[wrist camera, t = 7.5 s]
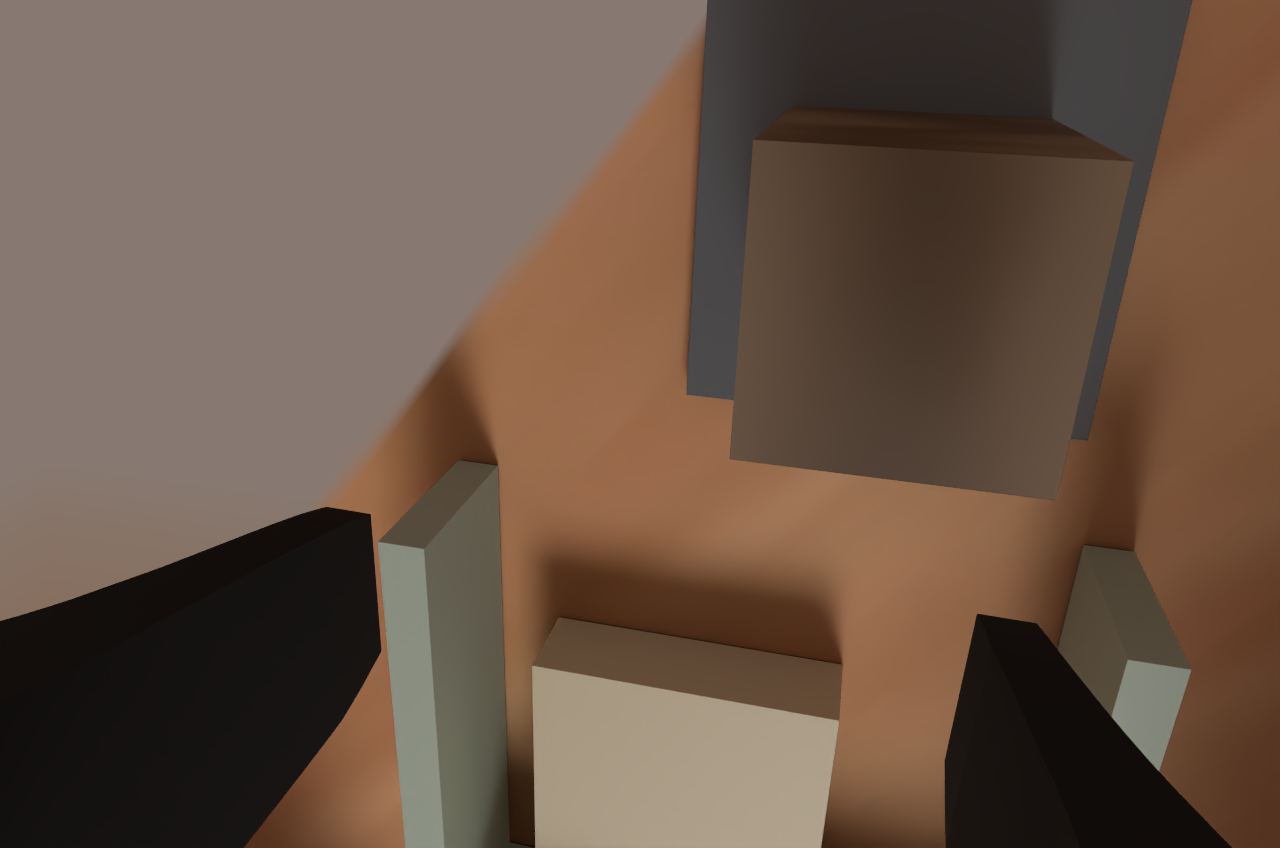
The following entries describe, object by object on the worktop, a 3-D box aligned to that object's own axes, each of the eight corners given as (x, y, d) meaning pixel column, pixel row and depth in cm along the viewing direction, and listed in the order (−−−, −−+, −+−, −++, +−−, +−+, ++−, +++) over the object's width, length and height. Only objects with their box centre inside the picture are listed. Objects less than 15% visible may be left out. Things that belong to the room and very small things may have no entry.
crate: (1135, 552, 19) (1191, 669, 16) (1016, 983, 25) (1039, 1146, 21) (458, 460, 23) (377, 541, 19) (478, 860, 28) (417, 984, 24)
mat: (1187, -8, 16) (1194, -9, 15) (1083, 432, 19) (1087, 440, 18) (712, -20, 17) (708, -20, 17) (689, 388, 20) (686, 394, 20)
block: (1052, 118, 16) (1134, 161, 11) (1005, 361, 18) (1056, 500, 13) (793, 105, 17) (753, 140, 12) (773, 338, 19) (729, 458, 14)
